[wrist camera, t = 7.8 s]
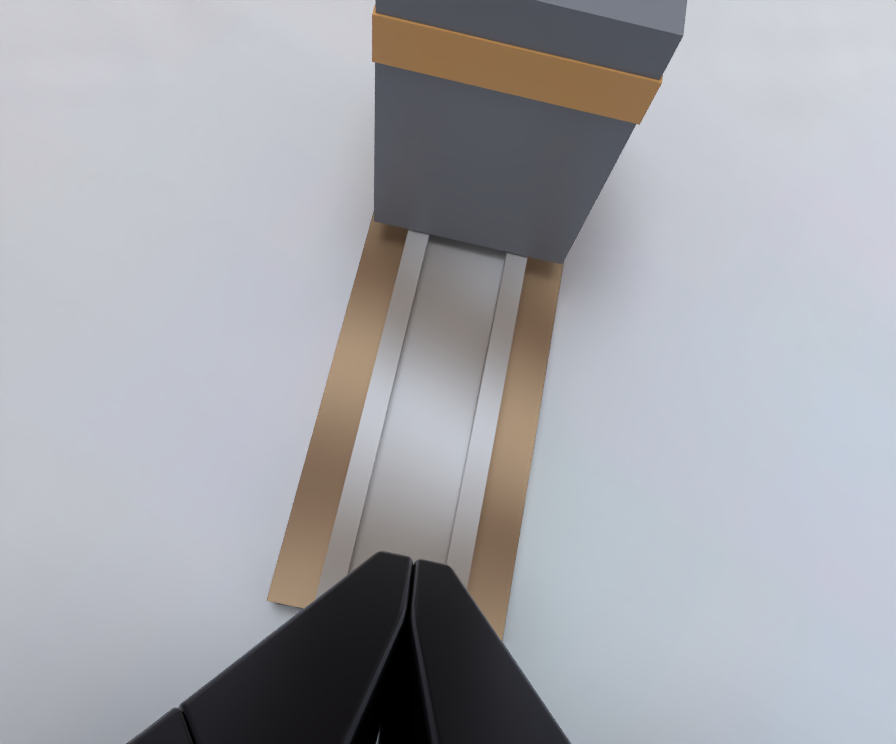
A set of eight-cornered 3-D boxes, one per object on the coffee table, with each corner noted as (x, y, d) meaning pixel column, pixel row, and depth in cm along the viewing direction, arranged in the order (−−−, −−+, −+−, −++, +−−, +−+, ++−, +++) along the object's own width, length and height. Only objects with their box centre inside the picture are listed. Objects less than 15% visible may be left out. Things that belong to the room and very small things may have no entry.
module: (563, 266, 20) (685, 38, 13) (371, 222, 20) (372, -37, 12) (586, 123, 22) (706, -155, 14) (410, 82, 22) (432, -224, 14)
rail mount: (493, 648, 19) (539, 657, 14) (272, 601, 19) (235, 593, 14) (579, 125, 25) (634, -6, 20) (413, 86, 25) (424, -57, 20)
